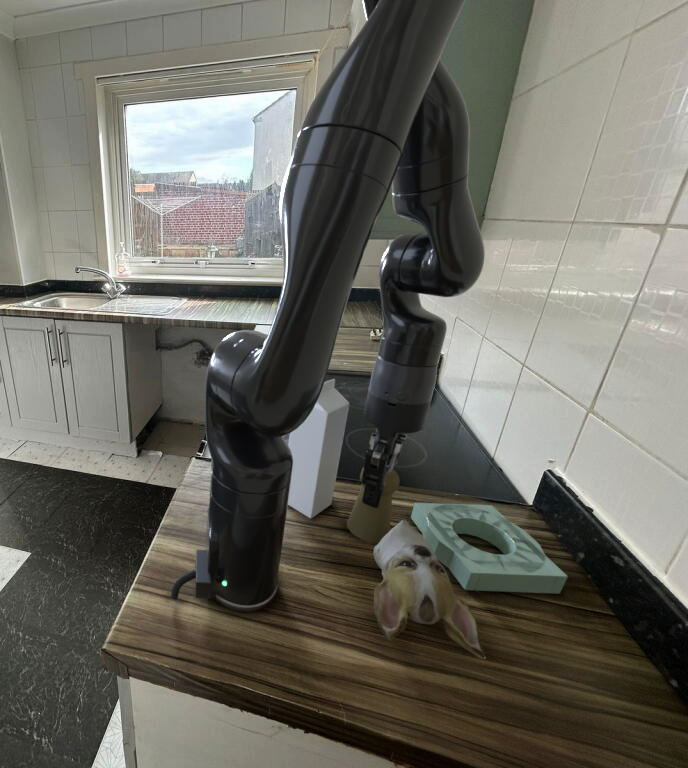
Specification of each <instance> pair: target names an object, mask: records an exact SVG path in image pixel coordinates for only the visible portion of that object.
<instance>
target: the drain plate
mask: <svg viewBox="0 0 688 768" xmlns="http://www.w3.org/2000/svg"><path fill="white" fill-rule="evenodd" d="M410 519H411V520H412V521H413V523H414V524H415V526H416V527H417V528H418V530H419V531H420V532H421V535H422V536H423V538H424V539H425V540H426V541H427V542H428V544H429V545H430V547H431V549H432V551H433V553H434V554H435V556H436V558H437V560H438V561H439V563H440V564H442V565H444V566H445V567H446V568H448V569H449V571H450V572H451V574H452V575H453V576H454V578H455V579H456V580H457V581H458V583H459V584H460V586H461V587H462V588H463V590H464V591H476V592H504V593H526V594H527V593H528V594H529V593H530V594H553V595H554V594H557V595H559V594H561V592H562V590H563V589H564V586H565V584H566V582H567V579H568V577H569V576H568V575H567V573H566V572H564V571H563V570H562V569H561V568H559V566H557V565H556V563H554V562H553V561H552V560H551V559H550V558H549V557H548V556H546V554H545V552H544V550H543V548H542V546H541V544H540V543H539V542H537V540H536V539H534V538H533V536H532V535H530V534H529V533H528V532H527V531H526V530H525V529H523V528H521V527H519V526H518V525H516V524H514V523H513V522H511V521H510V520H508V519H507V518H506V517H505V516H504V515H503V513H500V511H499V510H497V508H496V507H494V506H493V505H492V504H468V503H466V504H465V503H438V502H437V503H433V502H414V504H413V508H412V512H411V515H410ZM459 534H460V535H469V536H473V537H475V538H476V537H477V538H479V539H481V540H484V541H486V542H487V543H489V544H491V545H492V546H494V547H495V548H496V549H498V550H499V551H500V552H501V553H502V554H498V553H497V554H495V553H491V552H488V551H484V550H482V549H479V548H477V547H474V546H472V545H471V544H469V543H468V542H466V541H465V540H464V539H462V538H460V537H459Z"/></svg>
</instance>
